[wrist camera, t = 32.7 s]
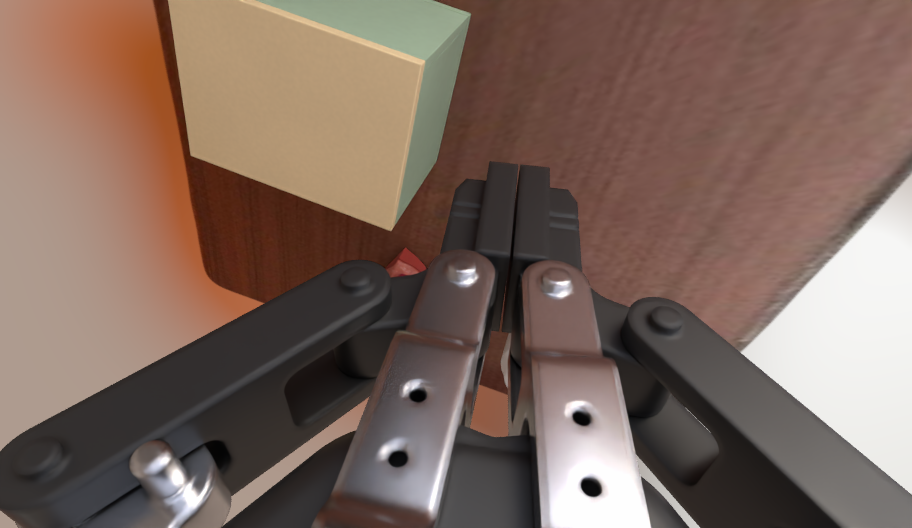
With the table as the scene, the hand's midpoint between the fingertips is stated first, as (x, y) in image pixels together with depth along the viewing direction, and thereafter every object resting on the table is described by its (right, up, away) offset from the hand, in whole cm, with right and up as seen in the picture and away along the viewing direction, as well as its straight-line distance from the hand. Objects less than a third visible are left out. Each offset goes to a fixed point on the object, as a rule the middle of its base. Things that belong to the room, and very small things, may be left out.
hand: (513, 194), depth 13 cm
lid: (-13, +9, +24) cm, 29 cm away
